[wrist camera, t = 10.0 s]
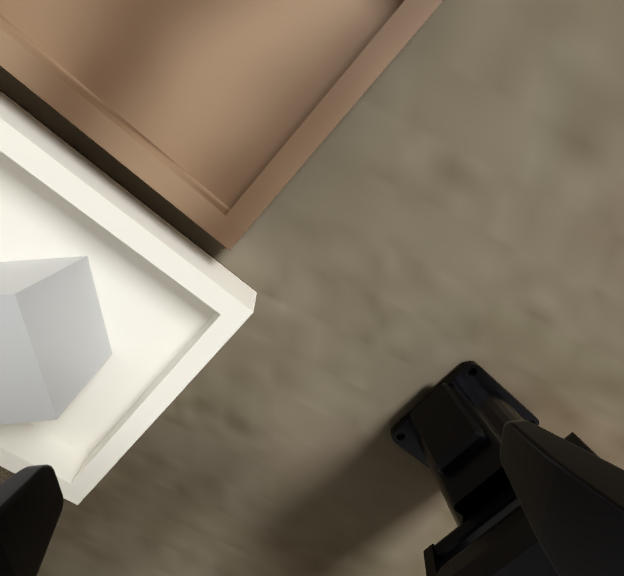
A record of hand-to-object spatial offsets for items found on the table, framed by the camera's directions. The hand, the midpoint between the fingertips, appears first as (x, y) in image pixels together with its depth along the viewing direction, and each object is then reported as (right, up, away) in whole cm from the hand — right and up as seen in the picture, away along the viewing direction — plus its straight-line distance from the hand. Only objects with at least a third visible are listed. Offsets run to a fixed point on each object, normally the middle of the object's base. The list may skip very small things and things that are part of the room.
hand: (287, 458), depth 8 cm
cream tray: (-12, +2, +11) cm, 16 cm away
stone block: (-12, +2, +10) cm, 16 cm away
